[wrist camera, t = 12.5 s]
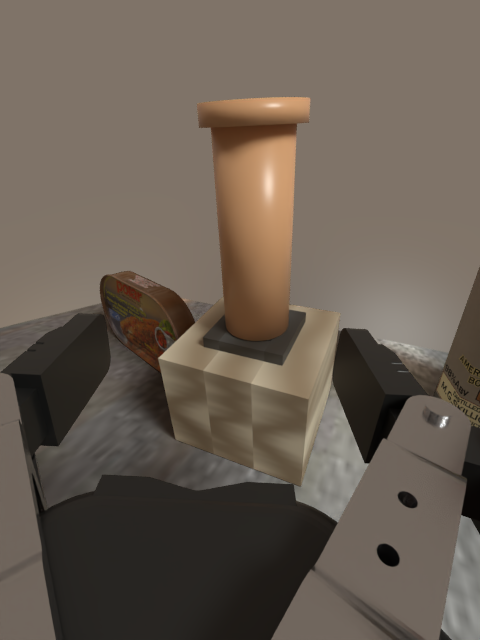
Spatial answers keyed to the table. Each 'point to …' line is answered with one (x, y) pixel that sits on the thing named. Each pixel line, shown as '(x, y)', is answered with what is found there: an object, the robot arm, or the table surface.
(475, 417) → the liquor
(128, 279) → the tin
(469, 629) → the table surface
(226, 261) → the flanged tan peg
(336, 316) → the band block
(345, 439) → the table surface
